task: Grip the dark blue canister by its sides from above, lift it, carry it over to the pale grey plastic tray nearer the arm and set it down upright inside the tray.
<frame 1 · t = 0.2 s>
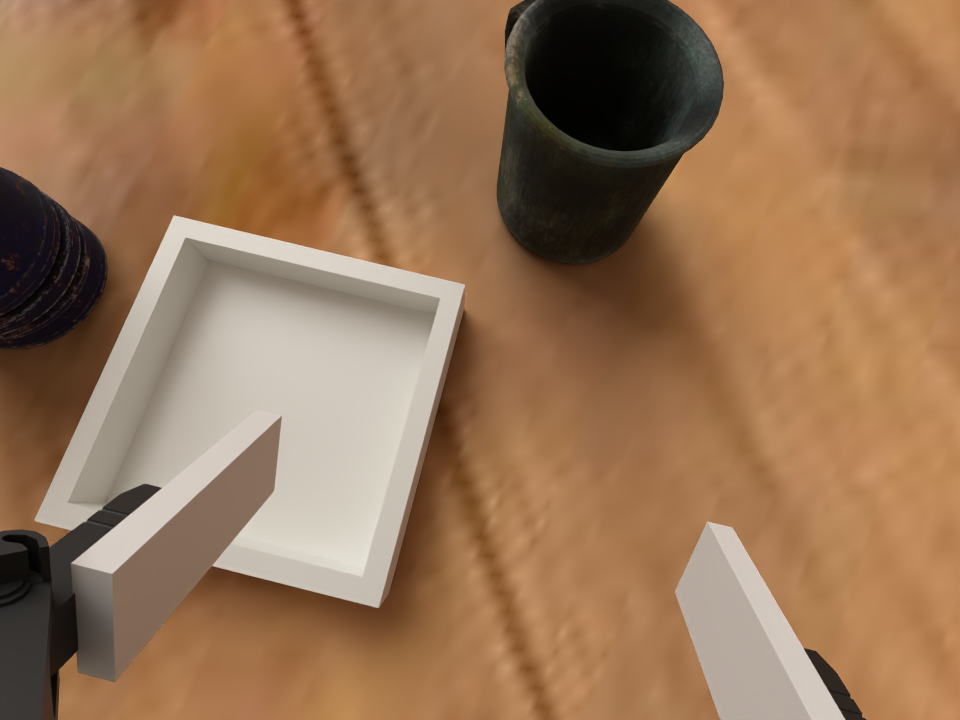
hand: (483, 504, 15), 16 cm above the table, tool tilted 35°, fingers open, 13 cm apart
mug: (553, 186, 37), on the table
tray: (289, 406, 32), on the table
dark blue canister: (32, 280, 34), on the table
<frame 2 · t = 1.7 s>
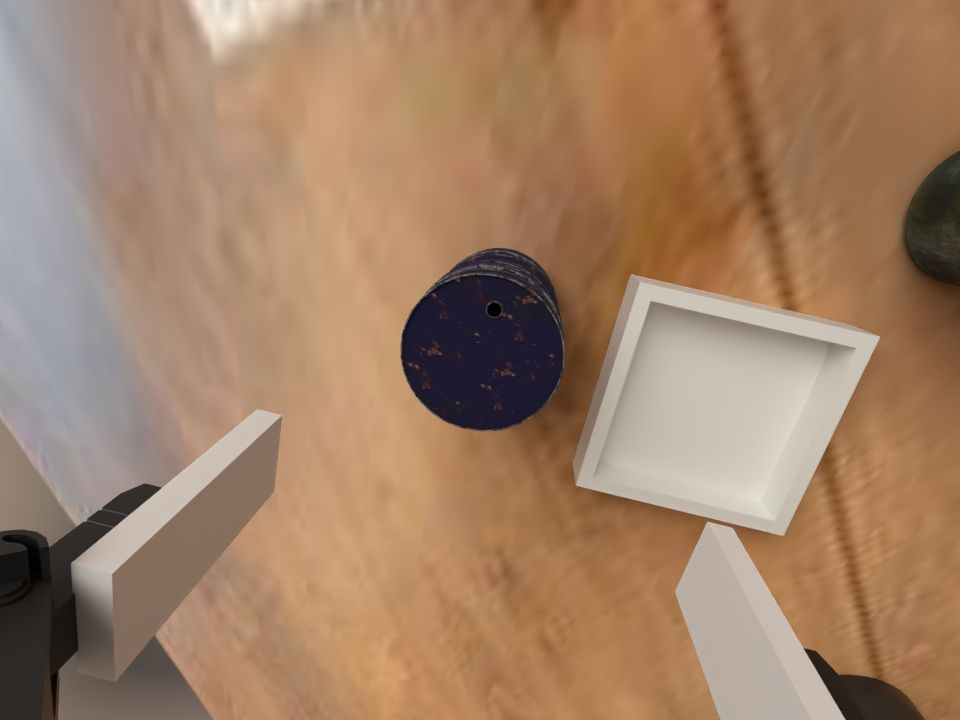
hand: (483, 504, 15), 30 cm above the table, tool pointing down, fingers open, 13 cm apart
tray: (700, 398, 45), on the table
dark blue canister: (498, 304, 44), on the table
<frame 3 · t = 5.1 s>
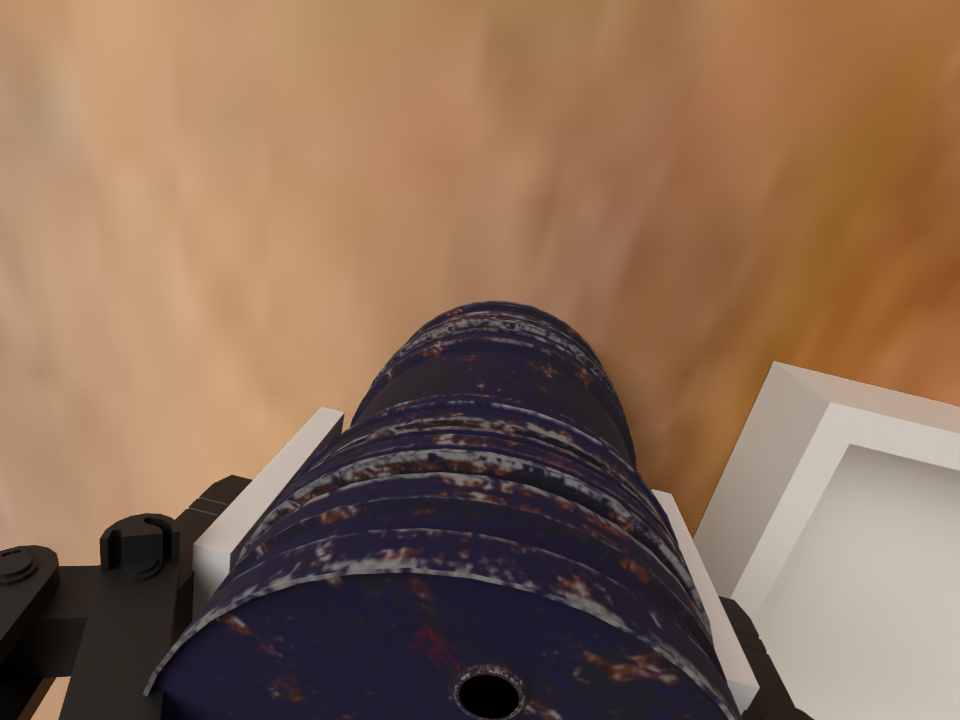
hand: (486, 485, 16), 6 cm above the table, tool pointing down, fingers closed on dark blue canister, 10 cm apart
tray: (886, 592, 23), on the table
dark blue canister: (496, 409, 22), on the table, touching gripper
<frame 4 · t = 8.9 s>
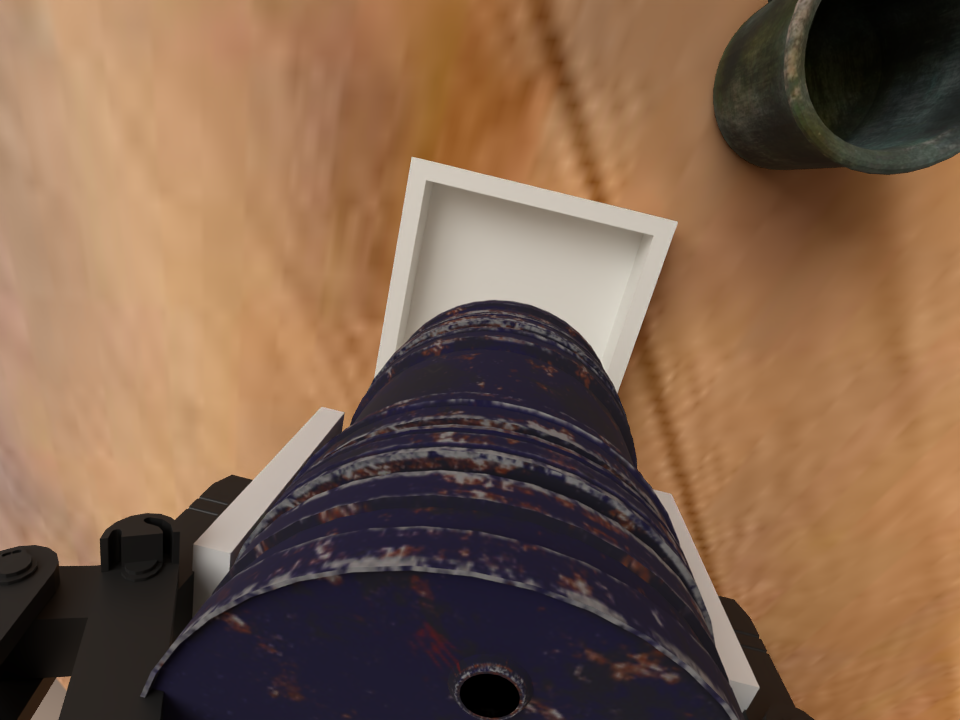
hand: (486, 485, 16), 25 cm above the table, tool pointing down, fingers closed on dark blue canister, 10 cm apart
mug: (778, 63, 34), on the table
tray: (512, 305, 40), on the table
dark blue canister: (496, 408, 22), point 20 cm above the table, touching gripper
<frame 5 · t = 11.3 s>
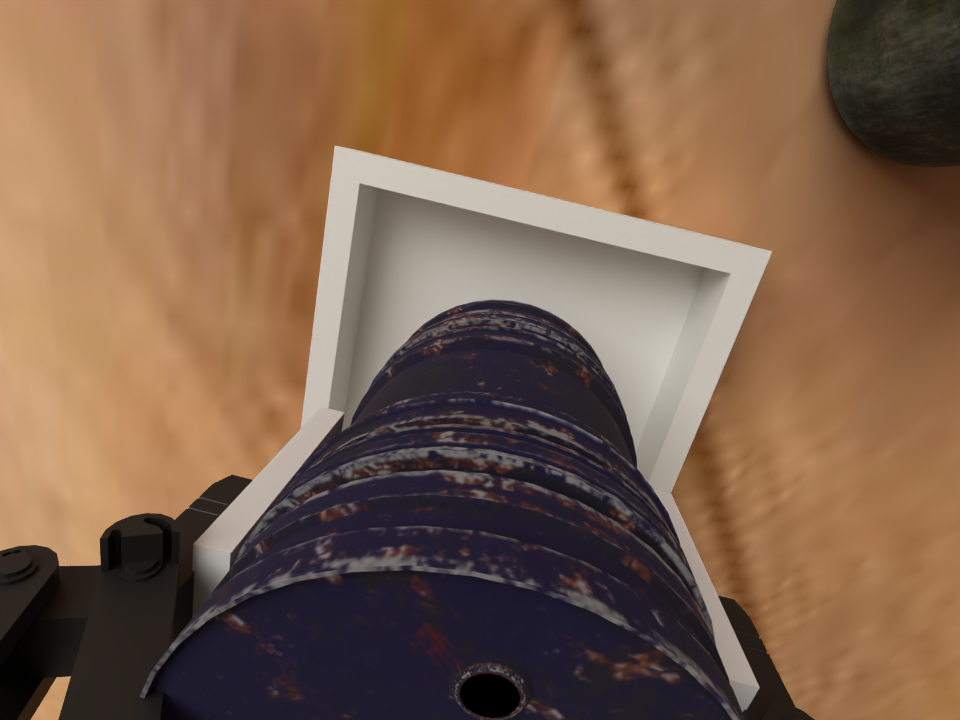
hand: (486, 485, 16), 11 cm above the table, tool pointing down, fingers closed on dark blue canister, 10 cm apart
tray: (503, 369, 27), on the table
dark blue canister: (497, 408, 22), point 6 cm above the table, touching gripper
when the fingers open (8 cm above the table, at t = 13.0 s): dark blue canister drops 1 cm, resting on tray.
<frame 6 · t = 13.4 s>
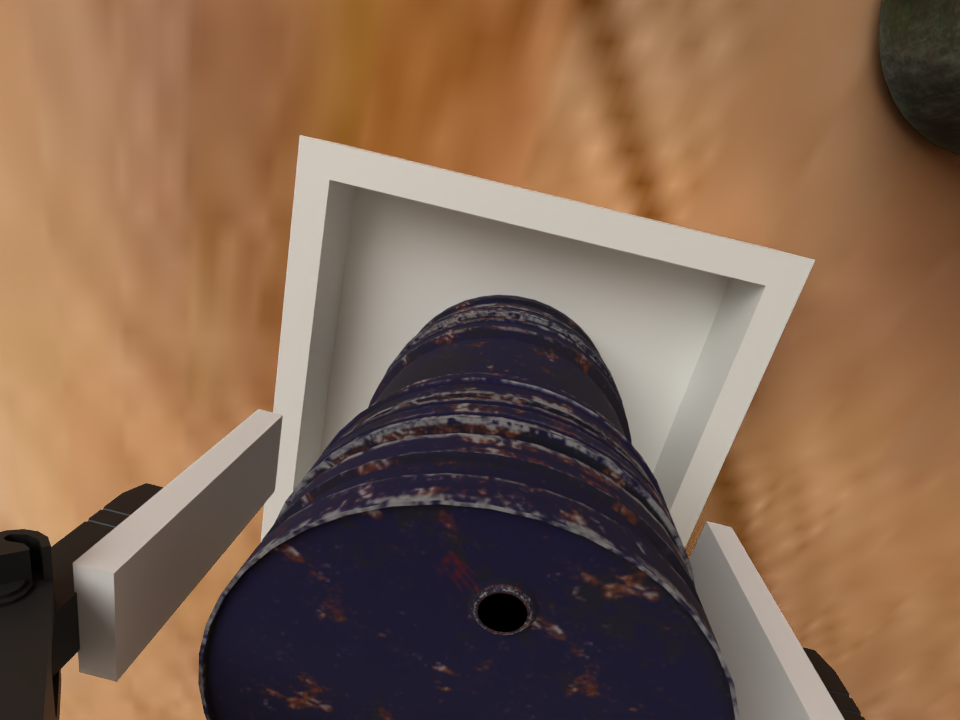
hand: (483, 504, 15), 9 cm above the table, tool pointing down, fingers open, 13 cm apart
tray: (500, 389, 24), on the table
dark blue canister: (501, 397, 23), point 1 cm above the table, touching tray
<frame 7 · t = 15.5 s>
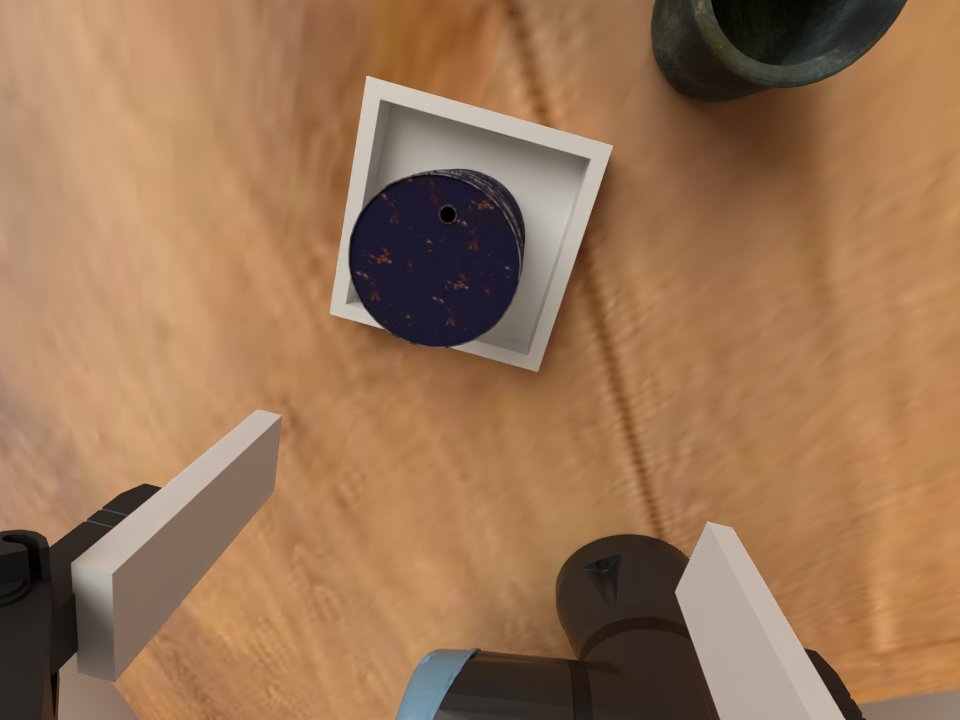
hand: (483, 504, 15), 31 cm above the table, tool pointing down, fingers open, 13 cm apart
tray: (465, 230, 43), on the table
dark blue canister: (466, 232, 42), point 1 cm above the table, touching tray
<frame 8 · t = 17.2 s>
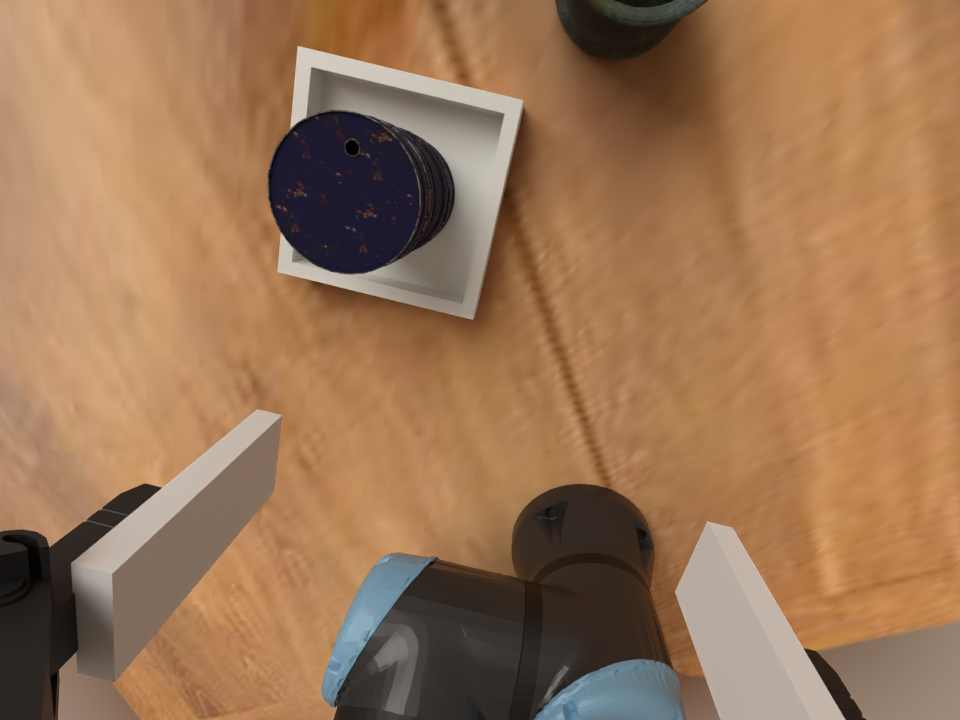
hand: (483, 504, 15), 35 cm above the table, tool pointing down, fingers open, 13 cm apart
tray: (402, 191, 46), on the table
dark blue canister: (401, 192, 46), point 1 cm above the table, touching tray
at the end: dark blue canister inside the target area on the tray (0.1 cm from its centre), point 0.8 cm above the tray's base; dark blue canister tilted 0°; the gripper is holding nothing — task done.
